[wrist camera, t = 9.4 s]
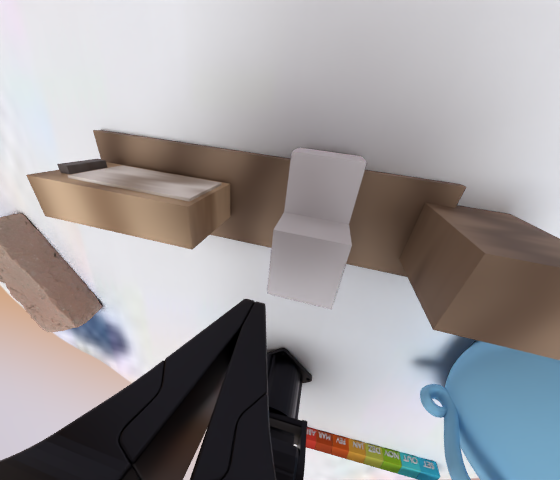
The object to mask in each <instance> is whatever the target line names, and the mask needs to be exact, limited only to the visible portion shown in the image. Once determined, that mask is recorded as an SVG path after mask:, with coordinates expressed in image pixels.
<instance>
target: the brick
mask: <svg viewBox="0 0 560 480" xmlns="http://www.w3.org/2000/svg"><path fill="white" fill-rule="evenodd" d="M0 281H1V282H3V283H6V286H7V288H8V289H9V290H10V294H11V295H12V296H13V297H14V298H15V299H16V300H17V301H19V302H20V303H21V304H22V305H23V306H24V308H25V309H26V312H27V313H29V314H30V315H31V318H33V319H34V320H35V321H36V323H37V324H38V325H39V326H40V327H41V328H42V329H43V330H45V331H47V332H57V331H64V330H67V329H70V328H76V327H79V326H81V325H83V324H84V323H86V322H87V321H88V320H90V319H91V318H92V317H93V316H94V315H95V314H96V313H97V312H98V311H99V310H100V309H101V308H102V306H101V304H100V303H99V301H98V299H97V298H96V297H95V295H94V294H93V292H92V291H91V290H89V289H88V286H87V285H86V284H85V283H83V281H82V280H81V278H80V277H79V276H78V275H77V274H76V273H75V271H74V270H73V269H72V268H71V267H70V266H69V265H68V264H67V262H66V261H65V260H64V259H63V258H62V257H61V256H60V255H59V253H58V252H57V251H56V250H55V249H54V248H53V247H52V246H51V245H50V244H49V242H48V241H47V240H46V238H45V237H44V236H43V235H42V234H41V233H40V232H39V231H38V230H37V229H36V228H35V227H34V226H33V225H32V224H31V223H30V222H29V220H28V219H27V218H26V217H25V216H24V215H23V214H13V215H9V216H4V217H1V218H0Z"/></svg>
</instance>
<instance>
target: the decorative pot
mask: <svg viewBox="0 0 560 480" xmlns="http://www.w3.org/2000/svg"><path fill="white" fill-rule="evenodd" d="M420 398H421V402H422V404H423V406H424V408H425V409H426V410H427V411H428V412H429V413H430V414H431V415H433V416H435V417H440V418H441V417H444V449H445V458H446V463H447V467H448V470H449V474H450V476H451V479H452V480H471V479H470V477H469V476H468V473H467V471H466V469H465V466H464V463H463V459H462V454H461V449H462V451H463V453H464V454H465V456H466V458H467V460H468V461H469V463H470V465H471V466H472V468H473V469H474V471H475V472H476V474H477V475H478V477H479V479H480V480H560V360H556V359H552V358H548V357H544V356H540V355H536V354H532V353H527V352H523V351H519V350H515V349H511V348H507V347H503V346H499V345H495V344H490V343H486V342H482V341H478V340H477V341H475V342H474V343H473V344H472V346H471V347H469V348H468V349H467V350H466V351H465V352H463V353H462V355H461V356H460V357H459V358H458V359H457V360H456V362H455V363H454V365H453V366H452V368H451V370H450V373H449V375H448V378H447V381H446V385H445V388H444V387H443V386H441V385H437V384H430V385H427V386H425V387H423V388H422V390H421V392H420ZM432 399H437V400H438V401H439V402H440V403H441V404H442V406H443V407H440V406H438V405H436V404H435V403H434V402H433V400H432ZM460 447H461V448H460Z"/></svg>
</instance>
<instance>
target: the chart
mask: <svg viewBox="0 0 560 480" xmlns="http://www.w3.org/2000/svg"><path fill="white" fill-rule="evenodd" d="M306 447H307V448H311V449H314V450H318V451H321V452H325V453H328V454H332V455H335V456H338V457H342V458H345V459H349V460H352V461H356V462H359V463H363V464H366V465H370V466H373V467H377V468H380V469H383V470H387V471H390V472H394V473H397V474H401V475H404V476H408V477H411V478H415V479H418V480H438V479H439V478H440V474H439V471H438V467H437V464H436V462H434V461H430V460H427V459H423V458H419V457H416V456H412V455H408V454H405V453H401V452H397V451H393V450H390V449H386V448H382V447H379V446H375V445H371V444H368V443H364V442H360V441H357V440H353V439H349V438H345V437H342V436H338V435H334V434H333V435H332V434H331V433H327V432H323V431H320V430H316V429H312V428H308V427H307V434H306Z"/></svg>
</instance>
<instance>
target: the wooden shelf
mask: <svg viewBox="0 0 560 480" xmlns="http://www.w3.org/2000/svg"><path fill="white" fill-rule="evenodd" d="M93 132H94V135H95V139H96V143H97V146H98V150H99V153H100V157H101V160H106V162H109V163H115V164H120V165H126V166H132V167H138V168H143V169H149V170H155V171H160V172H166V173H172V174H178V175H183V176H189V177H195V178H200V179H206V180H212V181H218V182H223V183H229V184H230V217H229V218H228V219H227V220H226V221H225V222H224V223H222V224H221V225H220V226H219V227H218V228H217V229H215V230H214V231H213V232H212V233H211V234H210V235H214V236H219V237H224V238H228V239H233V240H238V241H242V242H247V243H252V244H256V245H261V246H266V247H270V248H272V239H273V230H274V228H275V226H276V225H277V223H278V221H279V220H280V218H281V216H282V215H283V213H284V209H285V201H286V193H287V185H288V177H289V169H290V161H291V159H289V158H282V157H276V156H269V155H262V154H256V153H249V152H243V151H236V150H229V149H223V148H216V147H209V146H203V145H196V144H189V143H183V142H176V141H169V140H163V139H156V138H150V137H143V136H136V135H130V134H123V133H116V132H110V131H103V130H93ZM465 189H466V187H465V186H463V185H461V184H455V183H449V182H442V181H435V180H429V179H422V178H415V177H409V176H402V175H395V174H389V173H382V172H375V171H369V170H365V171H364V174H363V178H362V181H361V185H360V188H359V191H358V195H357V198H356V202H355V205H354V208H353V212H352V215H351V219H350V222H349V228H350V236H351V243H352V247H351V250H350V253H349V256H348V259H347V263H346V264H350V265H355V266H359V267H364V268H369V269H373V270H378V271H383V272H387V273H392V274H397V275H401V276H406V277H408V279H409V281H410V283H411V285H412V287H413V289H414V291H415V293H416V295H417V297H418V299H419V301H420V304H421V306H422V308H423V310H424V312H425V314H426V316H427V318H428V320H429V322H430V324H431V326H432V328H433V330H437V331H441V332H445V333H449V334H454V335H458V336H462V337H466V338H470V339H474V340H478V341H482V342H486V343H490V344H495V345H499V346H503V347H507V348H511V349H515V350H519V351H523V352H527V353H532V354H536V355H540V356H544V357H548V358H552V359H556V360H560V239H559V238H557V237H555V236H553V235H551V234H549V233H547V232H545V231H543V230H541V229H539V228H537V227H535V226H533V225H531V224H529V223H527V222H525V221H523V220H521V219H519V218H517V217H515V216H513V215H511V214H506V213H500V212H494V211H488V210H482V209H476V208H470V207H463V206H457V204H458V202H459V200H460V198H461V196H462V194H463V192H464V191H465Z"/></svg>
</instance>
